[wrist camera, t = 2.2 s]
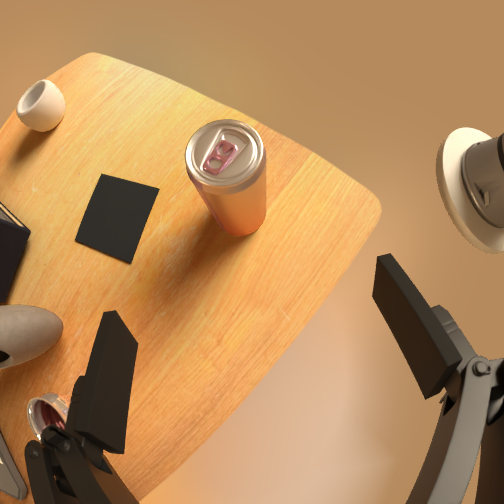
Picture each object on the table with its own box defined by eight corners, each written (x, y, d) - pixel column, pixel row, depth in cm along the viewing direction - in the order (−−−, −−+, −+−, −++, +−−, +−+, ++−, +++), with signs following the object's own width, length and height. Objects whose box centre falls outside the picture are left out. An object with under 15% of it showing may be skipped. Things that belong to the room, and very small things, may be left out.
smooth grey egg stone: (19, 368, 32) (-67, 382, 14) (8, 326, 33) (-79, 326, 15) (96, 344, 32) (-14, 364, 14) (81, 293, 34) (-30, 280, 15)
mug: (78, 109, 39) (55, 85, 31) (45, 145, 38) (19, 125, 30) (57, 88, 41) (38, 66, 33) (28, 119, 40) (7, 100, 32)
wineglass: (121, 380, 32) (67, 407, 20) (125, 426, 30) (78, 464, 19) (80, 371, 32) (22, 388, 20) (84, 414, 31) (32, 442, 19)
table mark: (159, 189, 35) (159, 188, 35) (131, 263, 34) (130, 263, 34) (102, 174, 36) (101, 173, 36) (75, 240, 35) (74, 239, 35)
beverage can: (206, 221, 34) (166, 166, 19) (233, 180, 35) (212, 106, 20) (249, 246, 34) (236, 204, 19) (275, 204, 34) (281, 137, 19)
